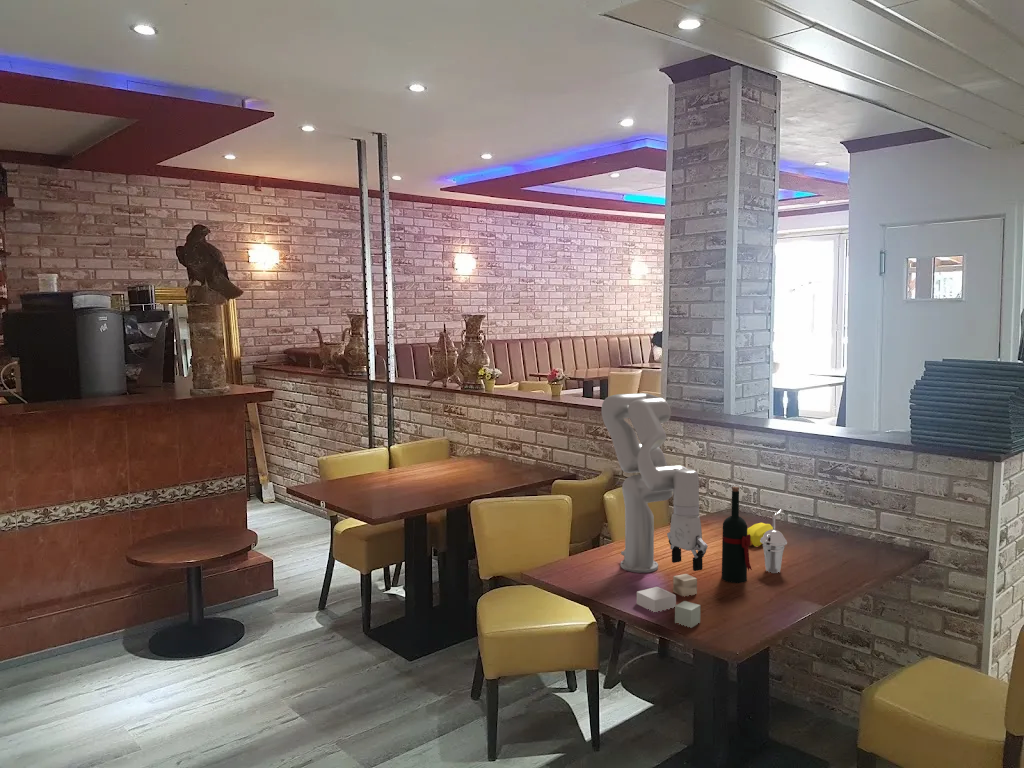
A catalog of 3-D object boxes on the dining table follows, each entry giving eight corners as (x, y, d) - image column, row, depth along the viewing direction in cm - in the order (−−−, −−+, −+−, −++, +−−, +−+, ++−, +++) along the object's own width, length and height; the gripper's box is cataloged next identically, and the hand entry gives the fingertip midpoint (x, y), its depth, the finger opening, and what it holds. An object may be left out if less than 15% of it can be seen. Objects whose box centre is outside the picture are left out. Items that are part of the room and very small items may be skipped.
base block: (636, 604, 219) (636, 591, 219) (657, 599, 223) (657, 586, 223) (654, 614, 212) (654, 600, 212) (675, 608, 216) (675, 595, 216)
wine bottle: (742, 587, 232) (743, 492, 229) (716, 578, 240) (717, 486, 238) (758, 582, 236) (759, 489, 234) (732, 573, 245) (733, 483, 242)
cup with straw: (754, 567, 250) (755, 509, 248) (778, 565, 252) (779, 507, 250) (769, 576, 241) (770, 515, 240) (793, 573, 244) (794, 513, 242)
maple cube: (673, 592, 229) (673, 576, 228) (686, 589, 231) (686, 573, 230) (683, 597, 224) (684, 581, 224) (696, 594, 226) (696, 578, 226)
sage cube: (674, 623, 205) (675, 605, 205) (684, 617, 209) (684, 600, 208) (691, 628, 202) (691, 610, 201) (700, 622, 205) (700, 605, 205)
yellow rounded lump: (737, 546, 275) (757, 550, 269) (737, 528, 274) (757, 532, 269) (759, 535, 288) (778, 539, 282) (759, 518, 287) (778, 522, 282)
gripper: (658, 506, 231) (659, 560, 232) (695, 517, 216) (696, 575, 217) (677, 503, 235) (678, 557, 235) (715, 514, 219) (716, 571, 220)
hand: (686, 566), depth 226 cm, fingers open, 9 cm apart
